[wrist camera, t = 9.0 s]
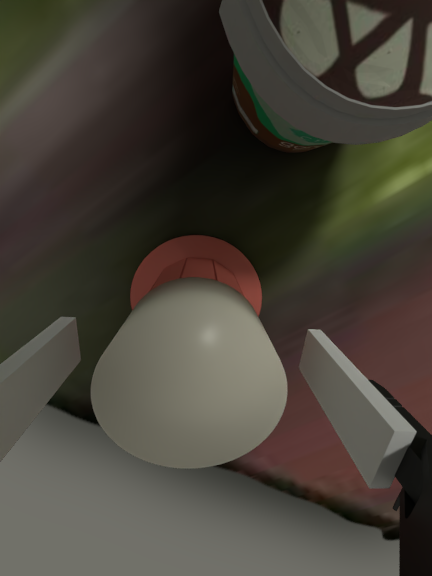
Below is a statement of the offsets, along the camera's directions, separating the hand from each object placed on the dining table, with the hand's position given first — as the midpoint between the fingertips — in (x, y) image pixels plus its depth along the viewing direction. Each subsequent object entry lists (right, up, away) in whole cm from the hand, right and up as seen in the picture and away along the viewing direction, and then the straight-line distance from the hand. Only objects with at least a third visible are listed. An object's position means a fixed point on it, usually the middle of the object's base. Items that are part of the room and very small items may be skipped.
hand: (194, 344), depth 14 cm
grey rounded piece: (0, +1, +3) cm, 3 cm away
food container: (+8, +15, +3) cm, 17 cm away
